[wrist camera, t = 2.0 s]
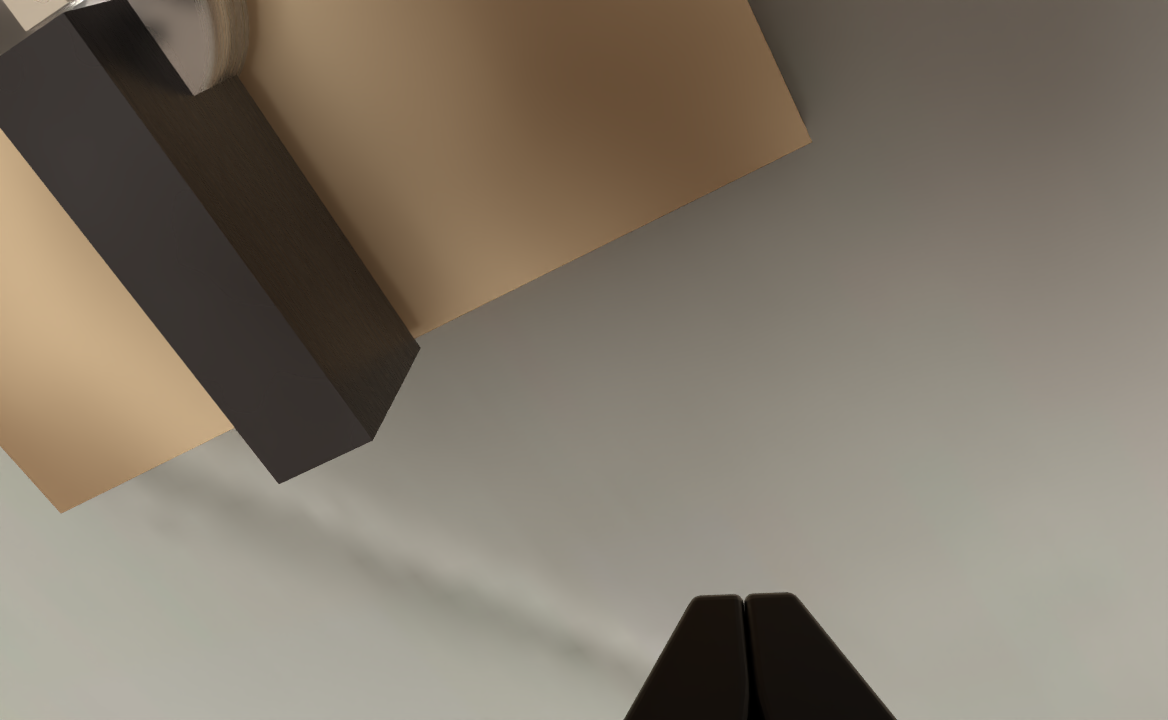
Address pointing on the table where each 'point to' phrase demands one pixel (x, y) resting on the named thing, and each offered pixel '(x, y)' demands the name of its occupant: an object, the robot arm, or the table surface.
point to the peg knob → (204, 215)
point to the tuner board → (397, 188)
